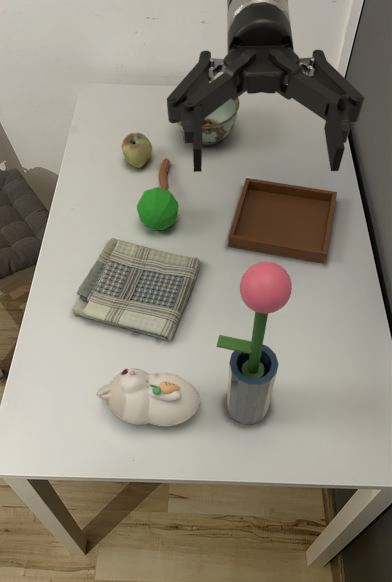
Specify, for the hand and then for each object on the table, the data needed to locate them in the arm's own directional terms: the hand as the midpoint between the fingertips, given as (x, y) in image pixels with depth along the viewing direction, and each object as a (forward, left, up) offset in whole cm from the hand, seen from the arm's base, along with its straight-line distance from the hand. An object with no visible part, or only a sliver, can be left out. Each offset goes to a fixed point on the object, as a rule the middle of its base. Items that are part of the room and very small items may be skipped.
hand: (267, 160), depth 49 cm
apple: (+31, -40, -38) cm, 63 cm away
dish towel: (+21, -8, -38) cm, 44 cm away
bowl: (+19, -50, -38) cm, 65 cm away
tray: (-1, -29, -38) cm, 47 cm away
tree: (+23, -30, -38) cm, 53 cm away
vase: (-2, +9, -38) cm, 39 cm away
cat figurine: (+12, +13, -38) cm, 42 cm away
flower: (-1, +9, -37) cm, 38 cm away
